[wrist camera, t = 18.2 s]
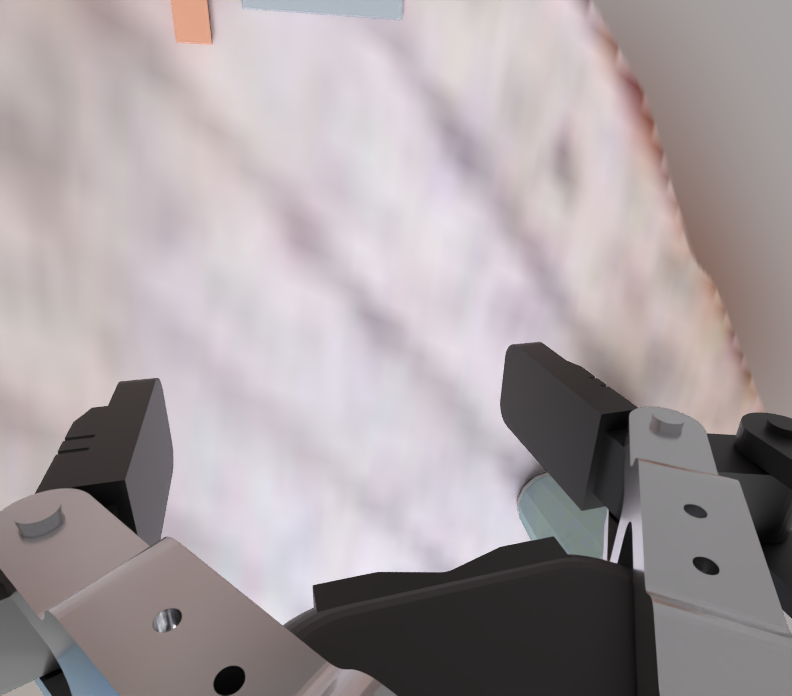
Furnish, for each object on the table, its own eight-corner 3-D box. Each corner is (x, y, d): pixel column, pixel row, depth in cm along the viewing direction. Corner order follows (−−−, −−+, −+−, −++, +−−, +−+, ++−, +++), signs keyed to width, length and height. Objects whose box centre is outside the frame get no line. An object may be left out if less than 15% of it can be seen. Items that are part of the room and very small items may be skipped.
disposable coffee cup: (479, 516, 54) (557, 645, 41) (542, 435, 52) (645, 543, 39) (547, 544, 59) (637, 668, 45) (607, 470, 57) (720, 578, 43)
